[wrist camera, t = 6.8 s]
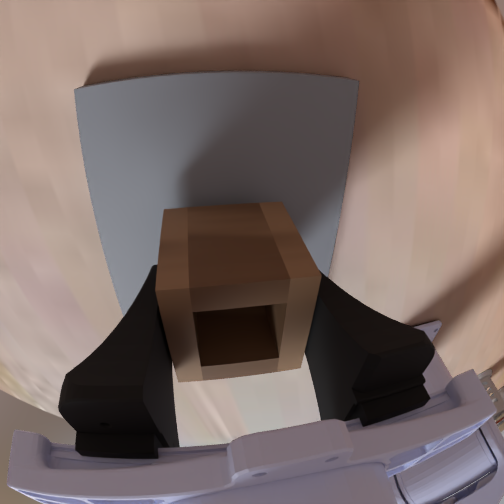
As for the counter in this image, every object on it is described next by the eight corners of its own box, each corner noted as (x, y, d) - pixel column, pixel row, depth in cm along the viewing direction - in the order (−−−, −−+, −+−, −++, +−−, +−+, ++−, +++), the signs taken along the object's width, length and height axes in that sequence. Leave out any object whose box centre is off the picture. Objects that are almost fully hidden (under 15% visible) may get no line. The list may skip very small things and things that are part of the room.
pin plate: (309, 320, 22) (328, 368, 19) (137, 337, 21) (133, 389, 17) (347, 77, 13) (396, 92, 10) (83, 85, 11) (44, 102, 8)
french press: (496, 371, 44) (550, 470, 24) (452, 408, 49) (498, 505, 29) (484, 367, 40) (546, 483, 20) (434, 409, 45) (484, 521, 25)
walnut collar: (274, 289, 17) (300, 368, 13) (176, 297, 16) (178, 382, 12) (281, 201, 14) (321, 275, 10) (163, 209, 13) (155, 290, 9)
